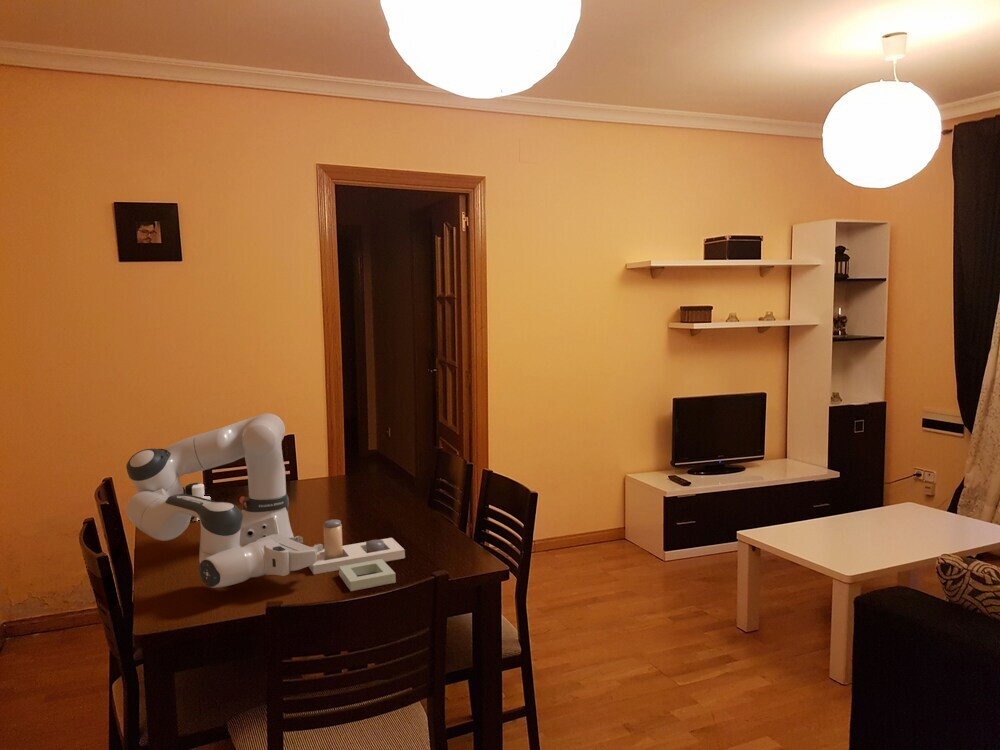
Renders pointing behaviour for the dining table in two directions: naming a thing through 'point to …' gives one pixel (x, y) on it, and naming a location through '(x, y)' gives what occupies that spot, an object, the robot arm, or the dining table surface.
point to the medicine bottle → (196, 493)
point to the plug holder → (379, 578)
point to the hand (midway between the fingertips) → (311, 542)
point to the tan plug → (333, 539)
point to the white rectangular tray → (360, 555)
